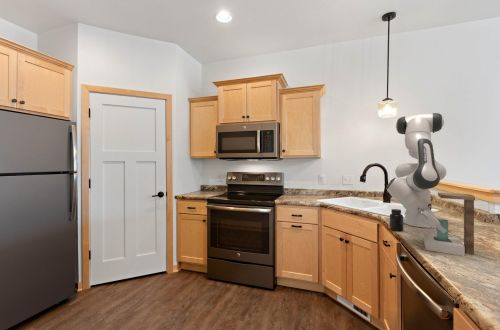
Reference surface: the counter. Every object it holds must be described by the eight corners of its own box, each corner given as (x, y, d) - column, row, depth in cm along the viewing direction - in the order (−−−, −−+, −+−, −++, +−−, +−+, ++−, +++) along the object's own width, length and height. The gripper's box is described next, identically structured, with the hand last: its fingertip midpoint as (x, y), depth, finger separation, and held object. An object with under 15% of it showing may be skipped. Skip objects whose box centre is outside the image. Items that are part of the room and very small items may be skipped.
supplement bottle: (398, 228, 138) (398, 208, 138) (406, 231, 131) (406, 210, 131) (387, 228, 138) (387, 208, 138) (394, 231, 131) (394, 210, 131)
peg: (436, 243, 108) (436, 218, 108) (447, 245, 106) (447, 219, 106) (437, 246, 105) (437, 220, 105) (448, 248, 103) (448, 221, 103)
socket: (423, 241, 115) (423, 233, 115) (458, 246, 108) (458, 238, 108) (425, 249, 104) (425, 240, 104) (464, 256, 97) (464, 246, 97)
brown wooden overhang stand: (437, 244, 110) (437, 192, 110) (469, 249, 104) (469, 194, 104) (441, 251, 102) (440, 194, 102) (475, 256, 96) (475, 196, 96)
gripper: (425, 205, 101) (454, 231, 95) (421, 199, 118) (446, 221, 112) (412, 214, 103) (441, 240, 98) (411, 207, 120) (435, 229, 115)
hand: (444, 230), depth 105 cm, fingers open, 4 cm apart
